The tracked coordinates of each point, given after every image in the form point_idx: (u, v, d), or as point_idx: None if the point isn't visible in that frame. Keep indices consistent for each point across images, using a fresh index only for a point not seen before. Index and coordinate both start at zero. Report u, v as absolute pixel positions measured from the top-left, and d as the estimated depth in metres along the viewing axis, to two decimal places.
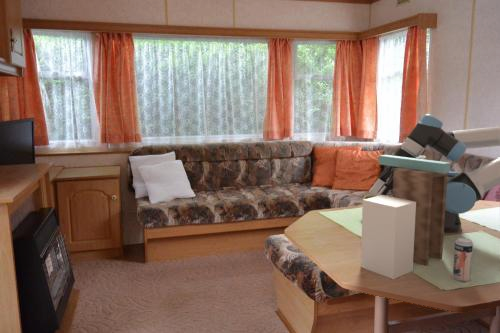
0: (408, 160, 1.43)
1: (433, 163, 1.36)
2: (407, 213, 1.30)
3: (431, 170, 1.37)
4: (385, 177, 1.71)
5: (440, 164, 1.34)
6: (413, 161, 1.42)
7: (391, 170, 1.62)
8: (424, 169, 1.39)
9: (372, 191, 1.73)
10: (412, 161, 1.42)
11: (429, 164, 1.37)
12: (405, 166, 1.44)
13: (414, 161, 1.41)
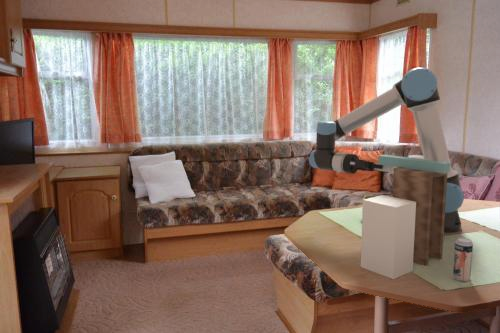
0: (408, 160, 1.43)
1: (433, 163, 1.36)
2: (407, 213, 1.30)
3: (431, 170, 1.37)
4: None
5: (440, 164, 1.34)
6: (413, 161, 1.42)
7: (363, 169, 1.63)
8: (424, 169, 1.39)
9: None
10: (412, 161, 1.42)
11: (429, 164, 1.37)
12: (405, 166, 1.44)
13: (414, 161, 1.41)
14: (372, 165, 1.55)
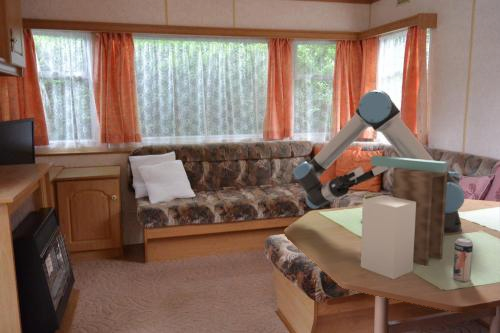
0: (404, 160, 1.42)
1: (431, 163, 1.37)
2: (407, 213, 1.30)
3: (429, 170, 1.37)
4: (368, 174, 1.66)
5: (439, 164, 1.35)
6: (410, 161, 1.41)
7: (347, 185, 1.63)
8: (422, 169, 1.39)
9: (384, 167, 1.60)
10: (408, 161, 1.41)
11: (427, 163, 1.37)
12: (401, 166, 1.43)
13: (411, 161, 1.41)
14: (345, 177, 1.56)
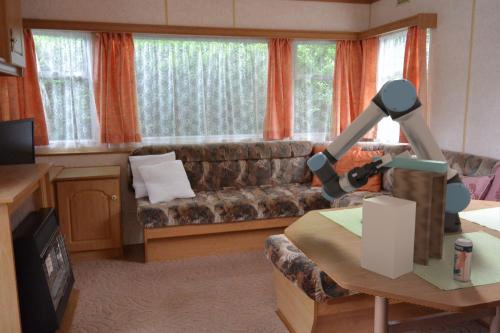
0: (404, 160, 1.42)
1: (431, 163, 1.36)
2: (407, 213, 1.30)
3: (429, 170, 1.37)
4: None
5: (439, 164, 1.35)
6: (410, 161, 1.41)
7: (369, 175, 1.56)
8: (422, 169, 1.39)
9: (406, 155, 1.51)
10: (409, 161, 1.41)
11: (427, 163, 1.37)
12: (401, 166, 1.43)
13: (411, 161, 1.41)
14: (372, 165, 1.48)
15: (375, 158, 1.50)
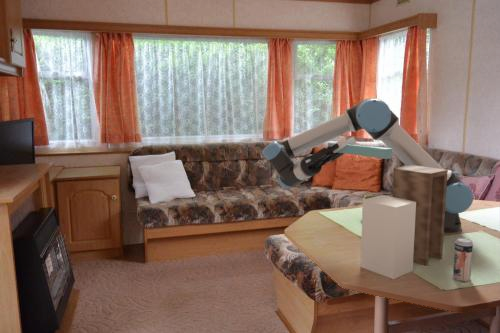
0: (354, 146, 1.43)
1: (376, 149, 1.36)
2: (407, 213, 1.30)
3: (374, 156, 1.37)
4: None
5: (382, 149, 1.34)
6: (358, 147, 1.41)
7: (322, 162, 1.56)
8: (368, 155, 1.38)
9: (352, 142, 1.48)
10: (357, 147, 1.42)
11: (372, 149, 1.37)
12: (351, 152, 1.44)
13: (359, 147, 1.41)
14: (329, 149, 1.49)
15: (330, 144, 1.51)
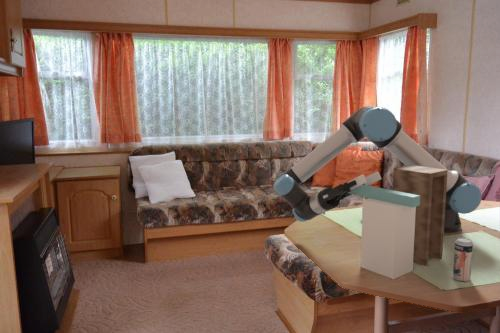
0: (377, 191, 1.35)
1: (402, 196, 1.28)
2: (407, 213, 1.30)
3: (400, 203, 1.29)
4: None
5: (409, 197, 1.26)
6: (382, 192, 1.33)
7: (340, 197, 1.47)
8: (393, 202, 1.31)
9: (376, 177, 1.40)
10: (381, 192, 1.34)
11: (398, 196, 1.29)
12: (374, 197, 1.36)
13: (383, 192, 1.33)
14: (346, 186, 1.40)
15: None
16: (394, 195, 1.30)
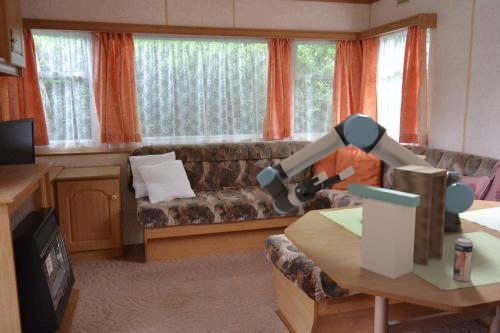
0: (377, 191, 1.35)
1: (402, 196, 1.28)
2: (407, 213, 1.30)
3: (400, 203, 1.29)
4: (335, 178, 1.59)
5: (409, 197, 1.26)
6: (382, 192, 1.33)
7: (313, 190, 1.56)
8: (393, 202, 1.31)
9: (350, 171, 1.53)
10: (381, 192, 1.34)
11: (398, 196, 1.29)
12: (374, 197, 1.36)
13: (383, 192, 1.33)
14: (309, 182, 1.49)
15: (350, 186, 1.43)
16: (394, 195, 1.30)
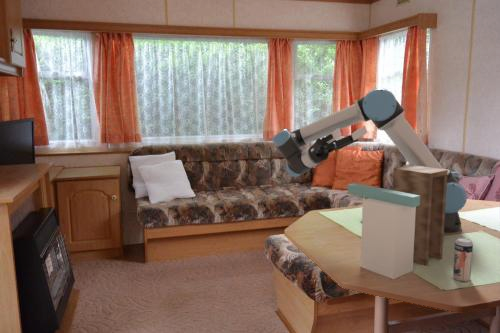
0: (377, 191, 1.35)
1: (402, 196, 1.28)
2: (407, 213, 1.30)
3: (400, 203, 1.29)
4: (347, 138, 1.64)
5: (409, 197, 1.26)
6: (382, 192, 1.33)
7: (326, 150, 1.61)
8: (393, 202, 1.31)
9: (363, 130, 1.58)
10: (381, 192, 1.34)
11: (398, 196, 1.29)
12: (374, 197, 1.36)
13: (383, 192, 1.33)
14: (323, 140, 1.54)
15: (350, 186, 1.43)
16: (394, 195, 1.30)
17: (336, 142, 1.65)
